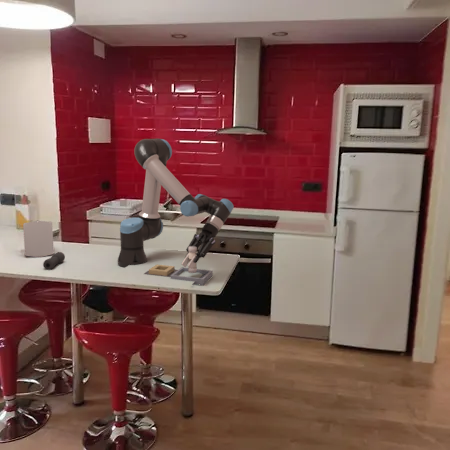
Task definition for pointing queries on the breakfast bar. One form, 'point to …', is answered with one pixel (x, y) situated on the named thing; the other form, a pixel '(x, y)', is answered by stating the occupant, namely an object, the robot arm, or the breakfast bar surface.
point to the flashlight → (54, 260)
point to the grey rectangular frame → (201, 280)
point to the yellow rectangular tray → (161, 270)
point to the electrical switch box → (38, 238)
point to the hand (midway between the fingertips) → (186, 266)
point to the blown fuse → (192, 252)
